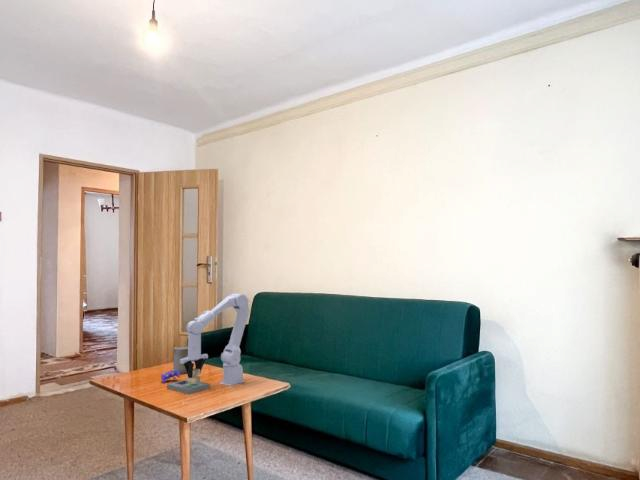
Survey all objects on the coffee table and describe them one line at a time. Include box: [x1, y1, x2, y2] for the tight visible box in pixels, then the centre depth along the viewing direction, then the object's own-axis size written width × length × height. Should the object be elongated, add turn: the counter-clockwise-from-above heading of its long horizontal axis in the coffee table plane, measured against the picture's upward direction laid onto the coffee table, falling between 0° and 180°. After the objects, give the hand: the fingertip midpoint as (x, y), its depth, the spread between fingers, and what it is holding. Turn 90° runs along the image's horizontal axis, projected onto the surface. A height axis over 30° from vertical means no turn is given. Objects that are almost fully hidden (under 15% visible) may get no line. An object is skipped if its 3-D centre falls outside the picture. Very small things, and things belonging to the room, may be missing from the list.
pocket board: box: [166, 378, 211, 395], centre depth 200 cm, size 12×16×3 cm
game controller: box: [160, 368, 180, 384], centre depth 213 cm, size 10×8×10 cm
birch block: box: [187, 367, 201, 384], centre depth 198 cm, size 4×4×6 cm
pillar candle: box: [173, 345, 193, 376], centre depth 233 cm, size 10×10×15 cm
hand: (194, 376), depth 198 cm, fingers closed on birch block, 4 cm apart
